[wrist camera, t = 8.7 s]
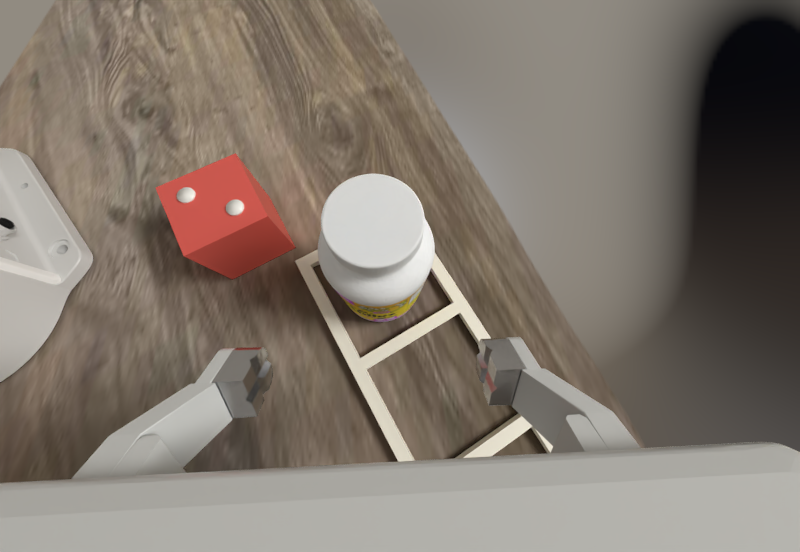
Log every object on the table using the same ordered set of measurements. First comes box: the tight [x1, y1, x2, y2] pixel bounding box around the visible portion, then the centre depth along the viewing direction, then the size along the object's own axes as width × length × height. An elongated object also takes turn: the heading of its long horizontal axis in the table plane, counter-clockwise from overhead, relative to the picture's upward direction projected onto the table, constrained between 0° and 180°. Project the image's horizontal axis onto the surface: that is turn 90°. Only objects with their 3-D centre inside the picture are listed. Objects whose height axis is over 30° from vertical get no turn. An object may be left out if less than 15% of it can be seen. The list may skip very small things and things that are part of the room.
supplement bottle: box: [318, 174, 435, 322], centre depth 19 cm, size 7×7×13 cm
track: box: [295, 249, 553, 462], centre depth 22 cm, size 31×11×1 cm, turn 30°
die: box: [156, 153, 296, 280], centre depth 23 cm, size 6×6×6 cm
